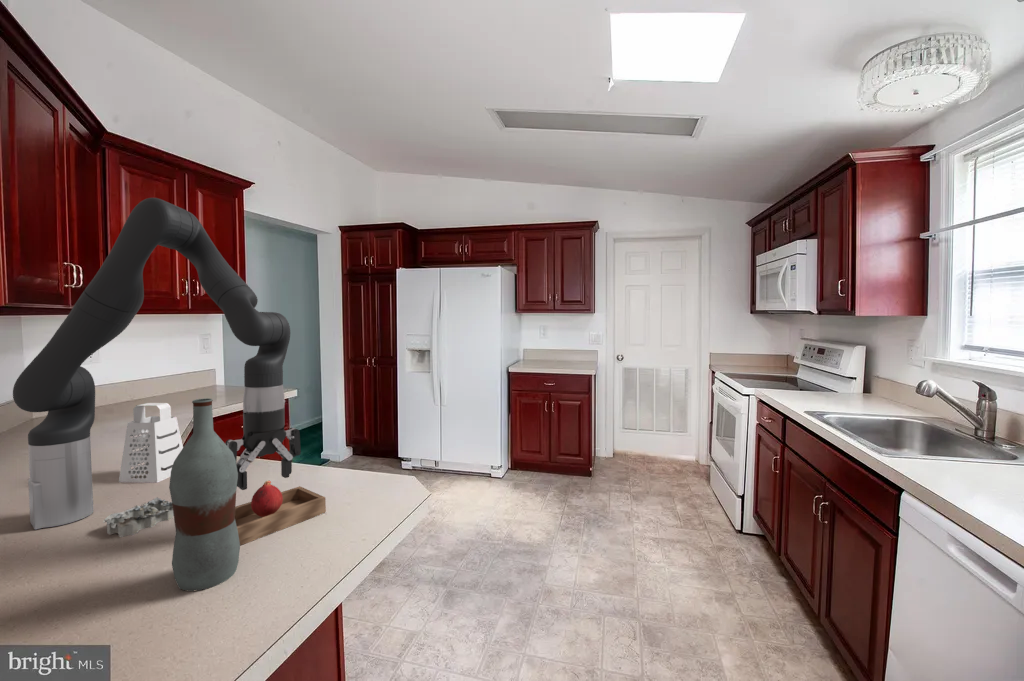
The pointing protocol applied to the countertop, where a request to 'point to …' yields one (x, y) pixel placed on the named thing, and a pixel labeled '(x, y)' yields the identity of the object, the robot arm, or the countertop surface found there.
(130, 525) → the egg carton
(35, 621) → the countertop surface
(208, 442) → the bottle
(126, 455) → the grater
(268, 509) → the onion
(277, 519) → the wooden tray
